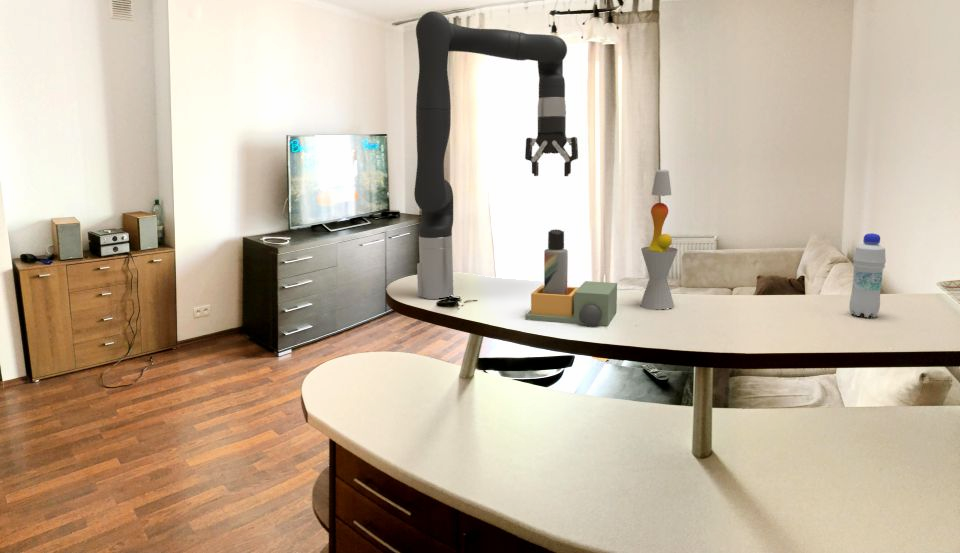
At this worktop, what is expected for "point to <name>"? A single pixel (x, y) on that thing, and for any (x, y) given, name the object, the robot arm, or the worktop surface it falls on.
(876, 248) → the bottle
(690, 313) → the worktop surface
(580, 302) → the tray with knob box
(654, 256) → the lava lamp
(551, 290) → the lotion bottle
